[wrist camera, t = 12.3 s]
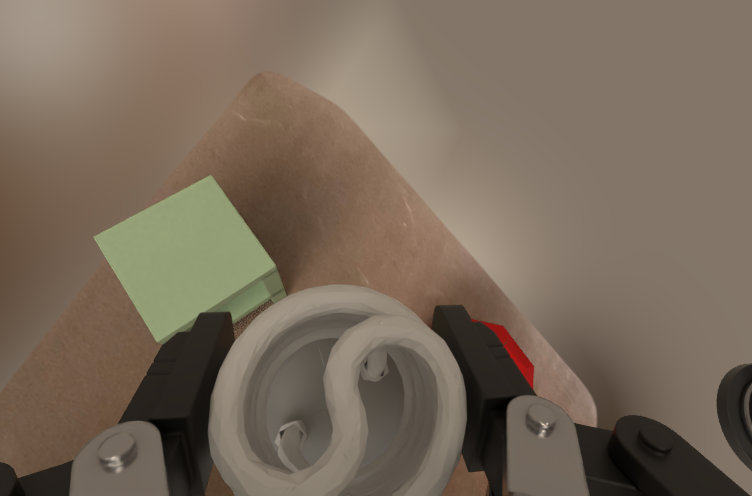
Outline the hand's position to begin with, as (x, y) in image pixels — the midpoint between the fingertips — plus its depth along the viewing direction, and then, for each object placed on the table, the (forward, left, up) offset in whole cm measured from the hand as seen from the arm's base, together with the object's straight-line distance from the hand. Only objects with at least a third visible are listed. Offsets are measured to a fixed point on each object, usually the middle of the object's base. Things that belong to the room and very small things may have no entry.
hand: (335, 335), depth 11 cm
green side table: (+3, -13, -26) cm, 29 cm away
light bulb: (+1, +2, -8) cm, 9 cm away
